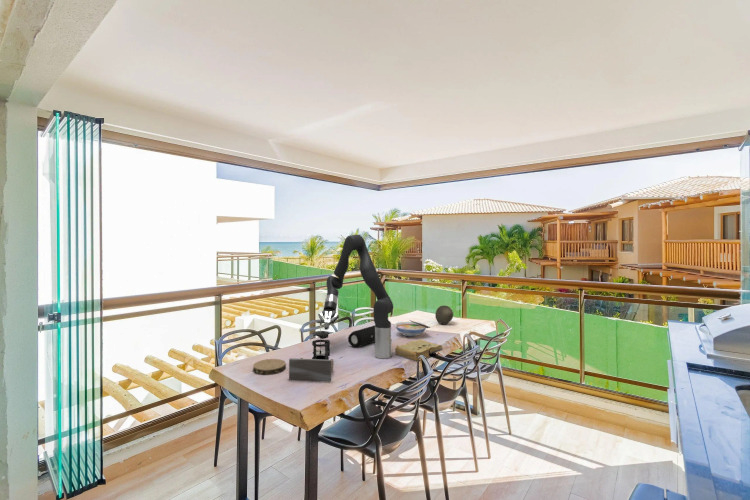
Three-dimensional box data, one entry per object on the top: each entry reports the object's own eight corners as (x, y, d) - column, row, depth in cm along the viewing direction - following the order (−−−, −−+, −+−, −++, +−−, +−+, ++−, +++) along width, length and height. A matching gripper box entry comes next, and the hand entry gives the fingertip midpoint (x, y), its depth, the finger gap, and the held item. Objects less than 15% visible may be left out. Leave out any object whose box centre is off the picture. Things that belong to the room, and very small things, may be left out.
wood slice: (289, 372, 180) (289, 366, 180) (256, 377, 172) (256, 371, 172) (280, 362, 194) (281, 357, 194) (250, 367, 186) (250, 361, 186)
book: (415, 362, 197) (416, 352, 197) (394, 355, 209) (394, 345, 209) (443, 353, 214) (443, 343, 214) (421, 347, 226) (421, 337, 226)
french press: (319, 368, 185) (320, 324, 184) (306, 364, 190) (307, 322, 190) (334, 362, 195) (335, 320, 194) (322, 359, 200) (322, 318, 199)
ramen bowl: (388, 332, 259) (388, 321, 259) (415, 329, 269) (415, 319, 269) (405, 341, 237) (405, 329, 237) (434, 338, 246) (434, 326, 246)
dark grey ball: (435, 325, 283) (435, 307, 282) (435, 321, 297) (435, 303, 296) (453, 326, 280) (453, 307, 280) (452, 322, 294) (452, 304, 294)
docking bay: (297, 369, 184) (297, 350, 183) (336, 370, 182) (336, 351, 182) (289, 380, 169) (289, 359, 169) (330, 381, 168) (330, 360, 168)
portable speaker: (358, 349, 219) (359, 333, 219) (347, 346, 225) (347, 330, 225) (383, 340, 239) (384, 326, 239) (372, 338, 245) (372, 323, 245)
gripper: (319, 299, 215) (313, 325, 203) (340, 300, 214) (336, 326, 202) (321, 306, 220) (315, 331, 208) (342, 307, 219) (338, 332, 207)
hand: (326, 328), depth 205 cm, fingers closed
